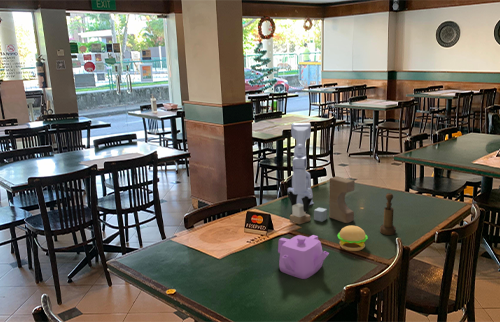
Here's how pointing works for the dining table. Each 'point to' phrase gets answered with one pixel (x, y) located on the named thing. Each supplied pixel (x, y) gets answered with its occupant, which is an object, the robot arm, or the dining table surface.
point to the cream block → (298, 210)
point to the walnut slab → (300, 219)
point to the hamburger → (352, 238)
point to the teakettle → (301, 256)
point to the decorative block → (340, 199)
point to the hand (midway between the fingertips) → (299, 209)
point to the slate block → (320, 214)
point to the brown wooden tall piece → (388, 218)
